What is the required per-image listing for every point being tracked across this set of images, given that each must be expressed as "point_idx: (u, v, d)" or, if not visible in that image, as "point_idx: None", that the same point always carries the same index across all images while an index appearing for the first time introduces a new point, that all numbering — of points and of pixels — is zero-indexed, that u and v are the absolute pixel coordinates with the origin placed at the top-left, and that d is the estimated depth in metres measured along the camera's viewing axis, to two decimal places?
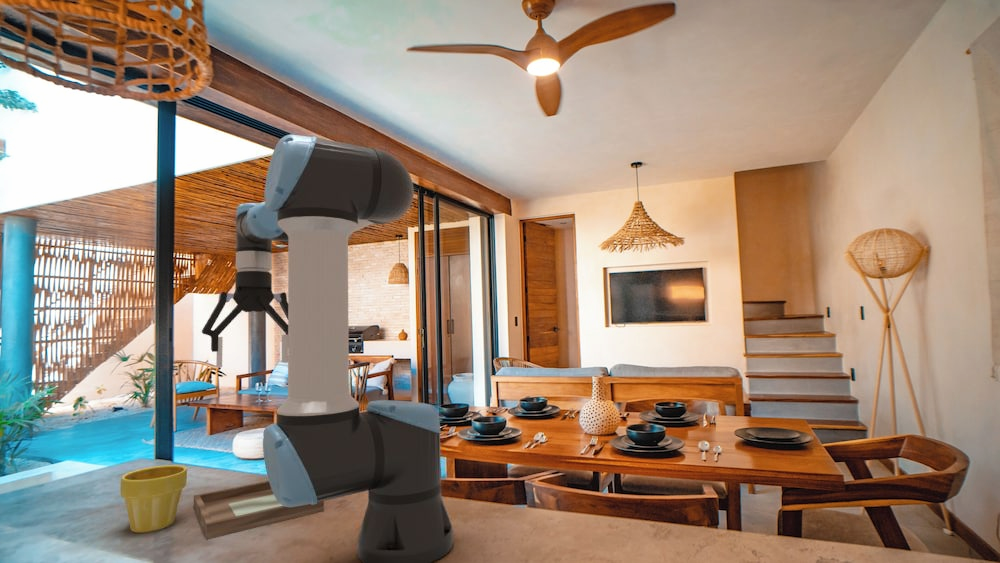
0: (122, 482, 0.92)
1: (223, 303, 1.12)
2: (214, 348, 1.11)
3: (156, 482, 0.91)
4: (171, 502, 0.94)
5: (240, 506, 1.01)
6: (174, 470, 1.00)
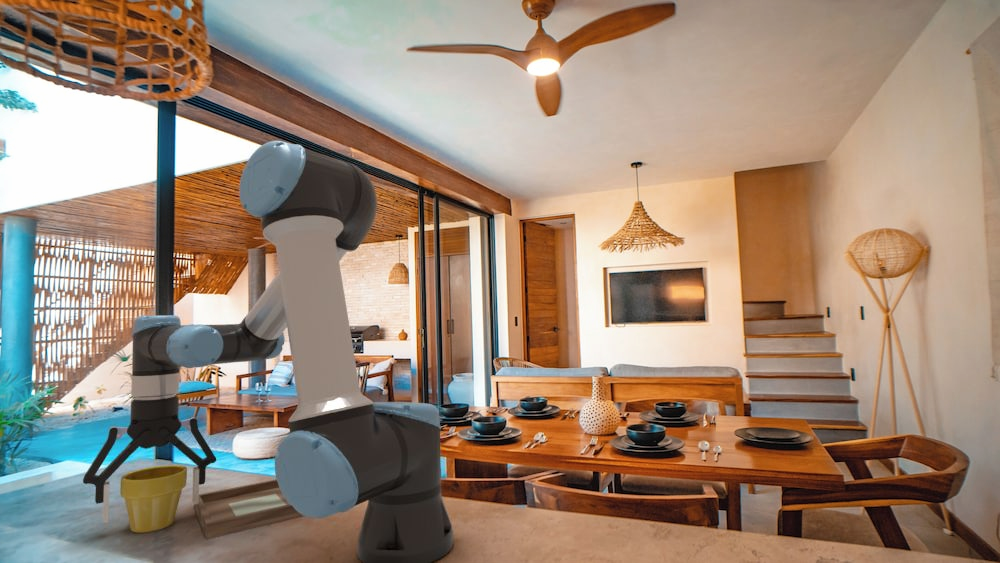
0: (122, 482, 0.92)
1: (112, 442, 0.91)
2: (98, 499, 0.90)
3: (156, 482, 0.91)
4: (171, 502, 0.94)
5: (240, 506, 1.01)
6: (174, 470, 1.00)
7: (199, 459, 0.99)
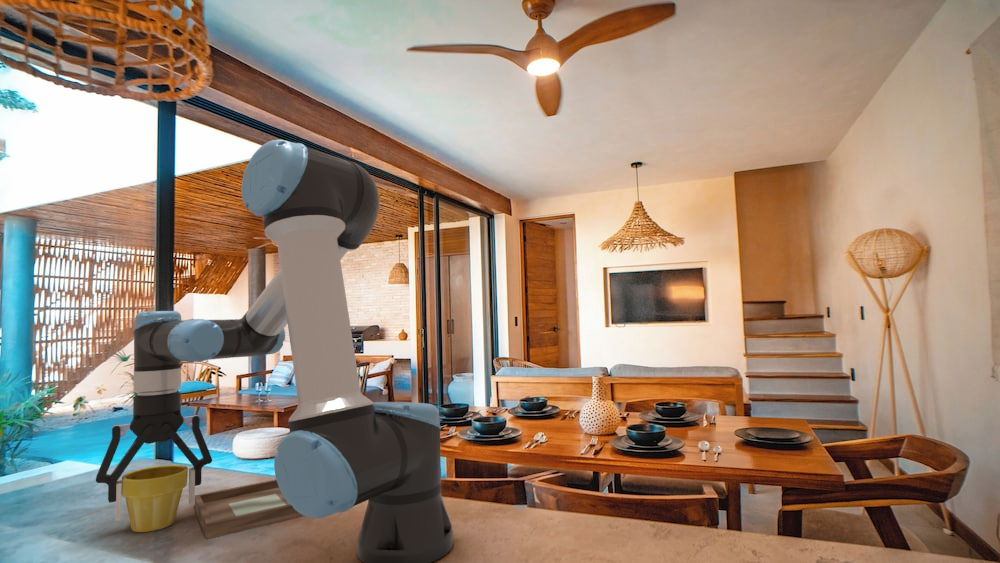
0: (123, 482, 0.92)
1: (117, 440, 0.92)
2: (111, 498, 0.91)
3: (157, 482, 0.92)
4: (172, 502, 0.94)
5: (240, 506, 1.01)
6: (174, 469, 1.00)
7: (196, 459, 0.99)
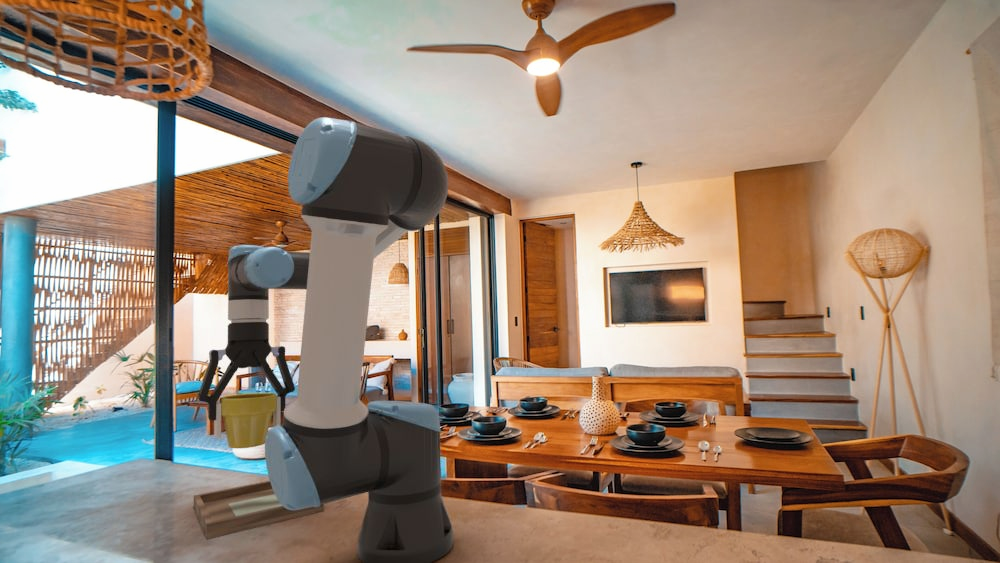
0: (222, 401, 0.98)
1: (216, 363, 0.99)
2: (211, 417, 0.98)
3: (254, 401, 0.98)
4: (266, 422, 1.01)
5: (240, 506, 1.01)
6: (262, 396, 1.07)
7: (281, 387, 1.06)
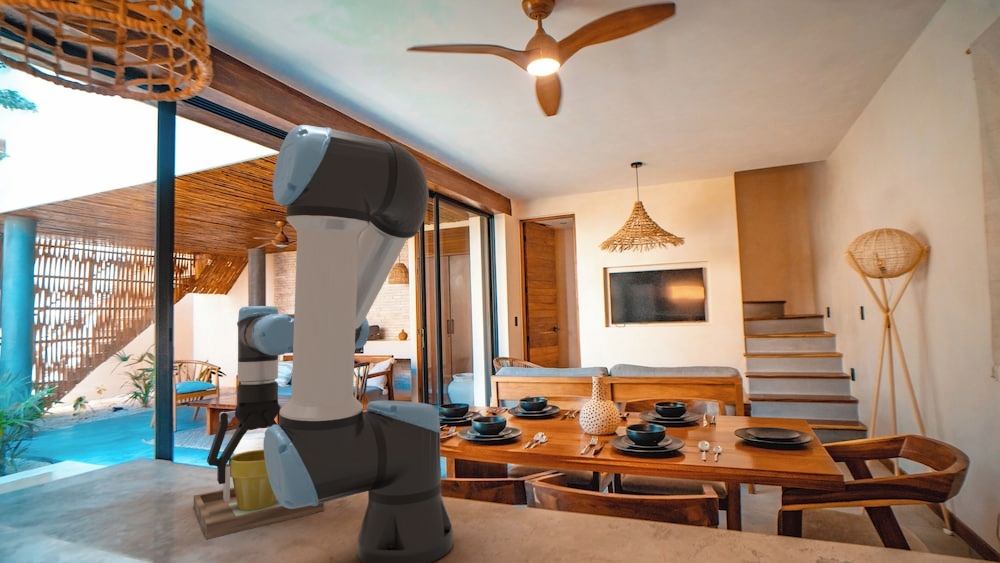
0: (232, 463, 0.99)
1: (225, 426, 0.99)
2: (220, 480, 0.98)
3: (263, 464, 0.98)
4: None
5: None
6: None
7: None
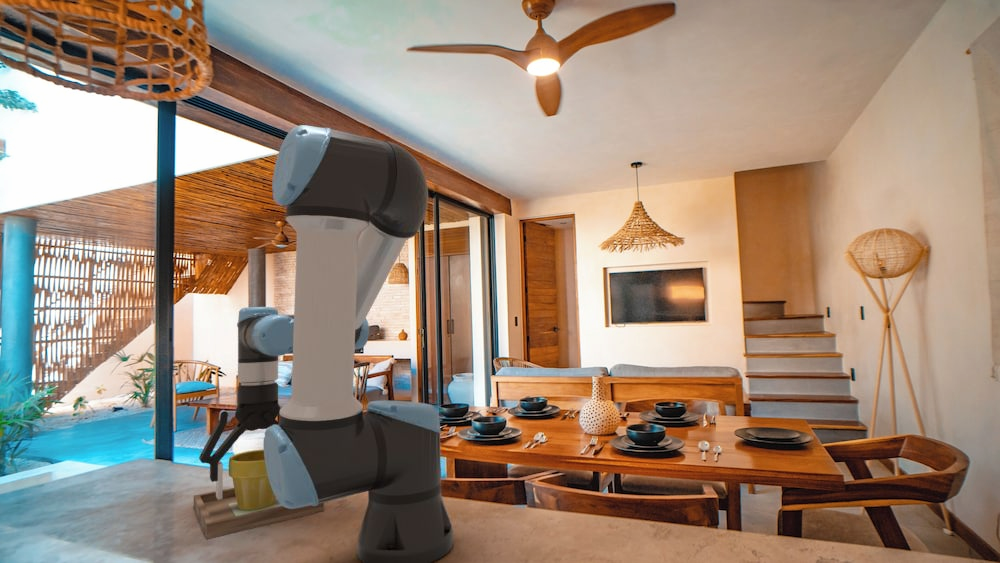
0: (231, 463, 0.99)
1: (223, 425, 0.99)
2: (213, 478, 0.97)
3: (263, 464, 0.98)
4: None
5: None
6: None
7: None
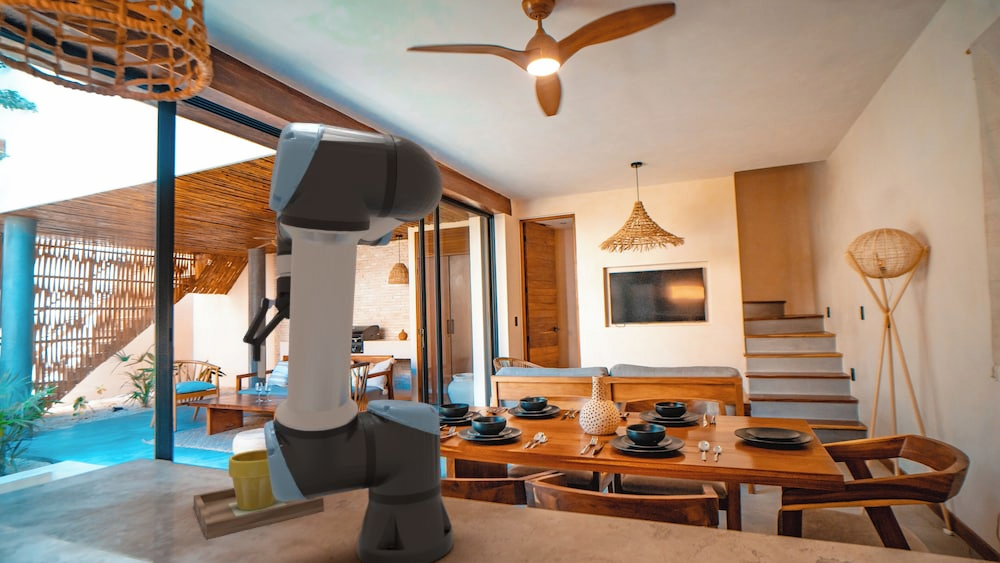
0: (232, 463, 0.99)
1: (265, 310, 1.06)
2: (256, 358, 1.04)
3: (263, 464, 0.98)
4: None
5: None
6: None
7: None
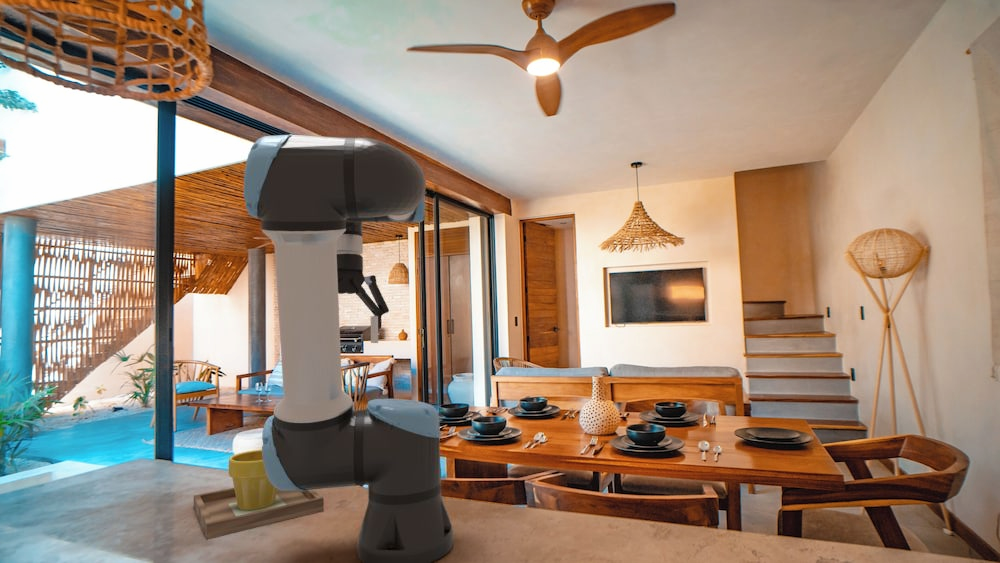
0: (231, 463, 0.99)
1: None
2: None
3: (263, 464, 0.98)
4: None
5: None
6: None
7: (377, 308, 1.24)
